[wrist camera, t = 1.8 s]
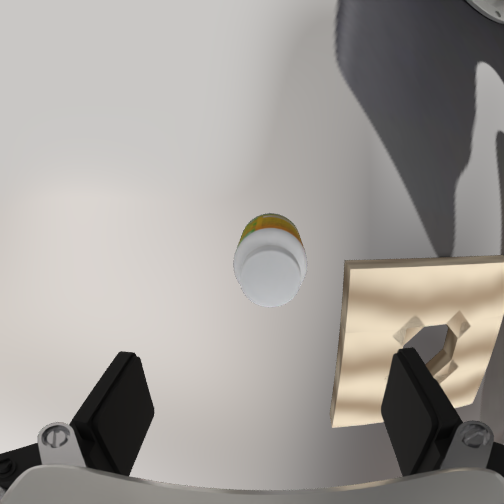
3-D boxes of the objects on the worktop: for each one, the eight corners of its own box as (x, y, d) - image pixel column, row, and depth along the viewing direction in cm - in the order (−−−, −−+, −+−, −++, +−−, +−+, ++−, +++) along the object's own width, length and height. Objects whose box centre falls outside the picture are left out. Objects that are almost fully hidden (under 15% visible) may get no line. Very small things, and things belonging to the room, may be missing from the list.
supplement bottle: (250, 204, 29) (241, 228, 20) (307, 222, 29) (324, 253, 20) (234, 259, 31) (218, 304, 21) (289, 275, 31) (295, 326, 22)
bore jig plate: (344, 260, 30) (350, 269, 28) (502, 255, 29) (515, 261, 26) (329, 413, 36) (332, 427, 33) (464, 392, 34) (472, 403, 32)
